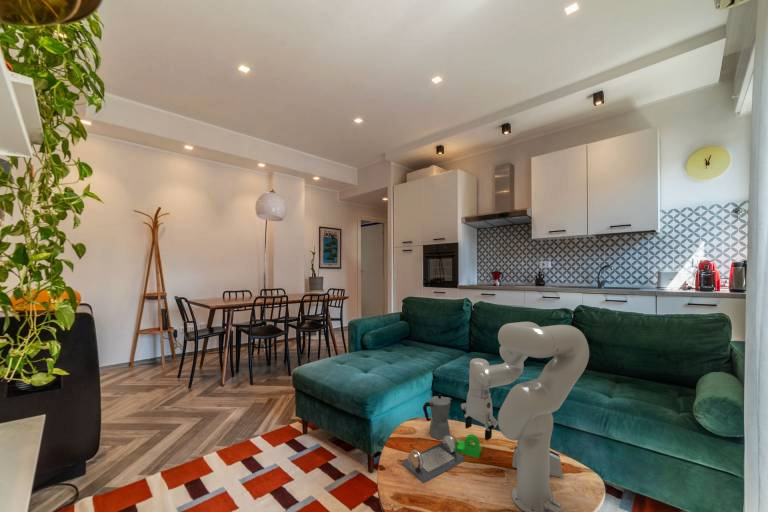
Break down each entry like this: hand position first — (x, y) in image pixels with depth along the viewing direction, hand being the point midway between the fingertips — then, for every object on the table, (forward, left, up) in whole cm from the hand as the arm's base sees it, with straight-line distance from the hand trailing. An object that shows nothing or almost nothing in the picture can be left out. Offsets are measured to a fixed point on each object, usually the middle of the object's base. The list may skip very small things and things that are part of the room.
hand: (478, 433), depth 130 cm
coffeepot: (+19, +3, -9) cm, 21 cm away
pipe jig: (+6, +18, -9) cm, 21 cm away
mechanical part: (+5, +2, -9) cm, 10 cm away
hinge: (-19, -10, -9) cm, 23 cm away
